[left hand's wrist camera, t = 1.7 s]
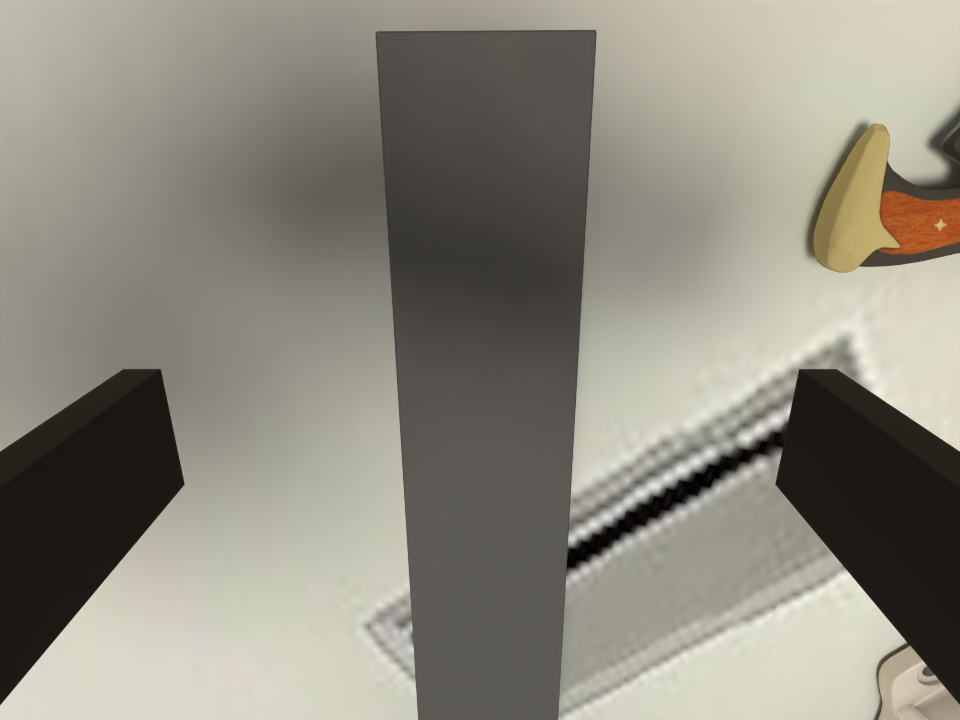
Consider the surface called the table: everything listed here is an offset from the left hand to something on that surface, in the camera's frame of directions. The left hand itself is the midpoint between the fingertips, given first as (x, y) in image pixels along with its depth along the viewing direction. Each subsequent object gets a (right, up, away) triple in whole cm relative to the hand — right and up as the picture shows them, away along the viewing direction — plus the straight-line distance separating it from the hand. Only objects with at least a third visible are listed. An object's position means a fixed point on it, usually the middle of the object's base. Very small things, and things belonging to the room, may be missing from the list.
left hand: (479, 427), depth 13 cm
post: (0, -26, +24) cm, 36 cm away
